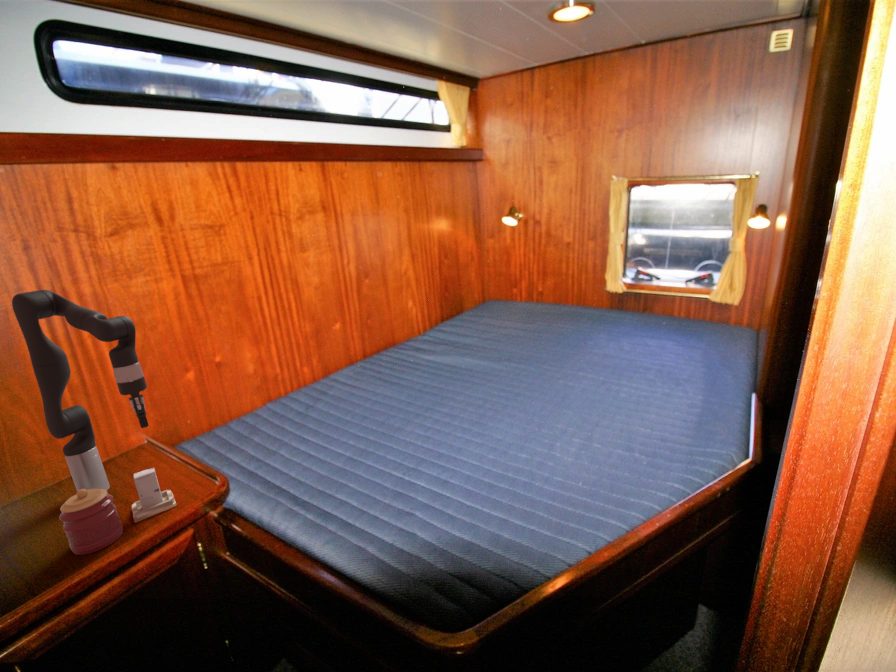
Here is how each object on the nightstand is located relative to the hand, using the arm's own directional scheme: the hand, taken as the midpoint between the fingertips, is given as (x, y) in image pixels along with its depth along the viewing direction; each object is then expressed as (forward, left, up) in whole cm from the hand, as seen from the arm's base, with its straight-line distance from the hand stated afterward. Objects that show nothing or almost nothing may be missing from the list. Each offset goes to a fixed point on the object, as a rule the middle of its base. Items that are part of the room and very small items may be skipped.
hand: (144, 426), depth 152 cm
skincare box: (+4, -4, -26) cm, 27 cm away
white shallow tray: (+4, -4, -27) cm, 28 cm away
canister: (+11, -19, -27) cm, 35 cm away
